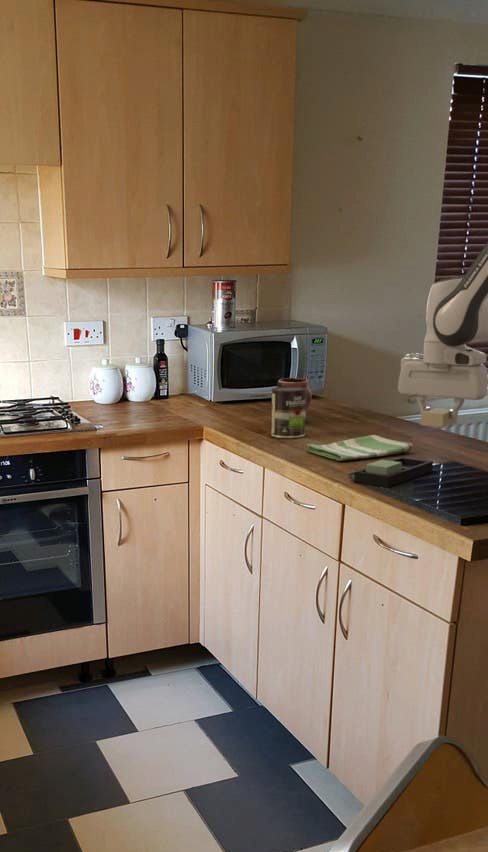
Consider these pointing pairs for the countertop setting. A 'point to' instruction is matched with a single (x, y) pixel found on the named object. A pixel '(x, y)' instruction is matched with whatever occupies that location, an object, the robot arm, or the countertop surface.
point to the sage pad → (384, 467)
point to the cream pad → (436, 418)
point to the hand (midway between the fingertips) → (439, 416)
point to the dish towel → (360, 448)
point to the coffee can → (288, 412)
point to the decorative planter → (297, 383)
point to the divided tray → (409, 471)
